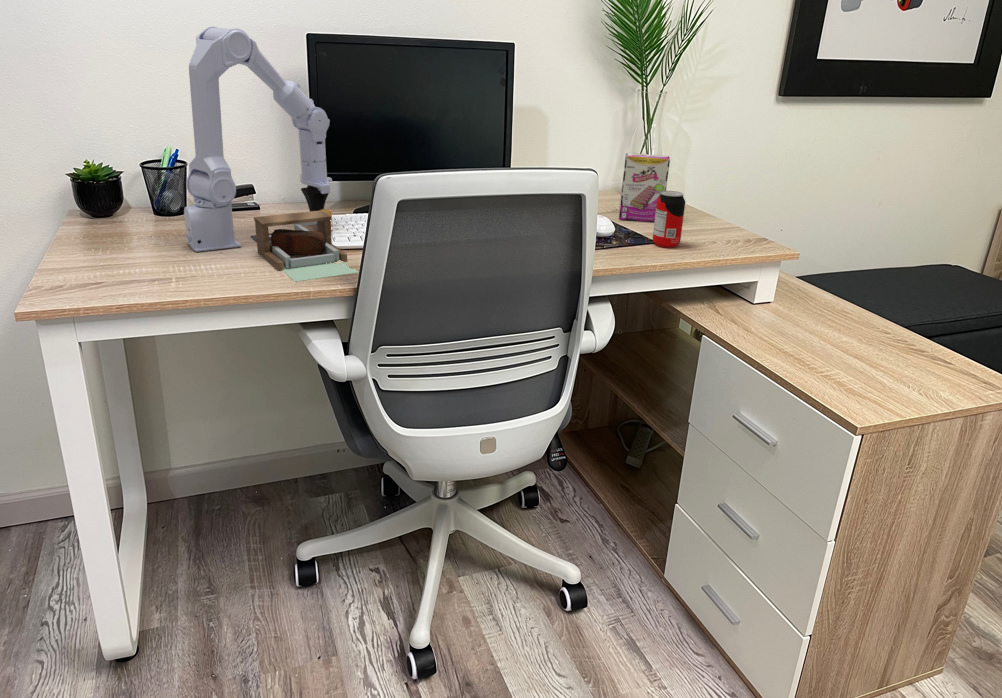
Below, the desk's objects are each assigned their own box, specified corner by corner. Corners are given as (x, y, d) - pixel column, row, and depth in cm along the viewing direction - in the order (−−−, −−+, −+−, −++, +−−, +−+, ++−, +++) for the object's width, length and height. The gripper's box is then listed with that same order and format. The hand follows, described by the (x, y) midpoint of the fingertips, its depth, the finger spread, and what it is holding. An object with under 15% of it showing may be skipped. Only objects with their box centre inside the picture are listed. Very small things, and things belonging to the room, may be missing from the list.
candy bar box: (618, 220, 200) (624, 155, 193) (618, 216, 204) (624, 152, 198) (662, 223, 199) (670, 158, 192) (661, 218, 203) (669, 154, 197)
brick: (271, 255, 160) (270, 233, 159) (276, 250, 164) (274, 228, 162) (323, 257, 161) (322, 235, 159) (327, 252, 165) (326, 230, 163)
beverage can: (682, 248, 177) (689, 196, 172) (655, 248, 177) (661, 195, 172) (675, 241, 183) (682, 190, 178) (649, 240, 183) (654, 189, 178)
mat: (295, 282, 147) (295, 281, 147) (278, 268, 155) (278, 267, 155) (359, 273, 154) (359, 272, 154) (340, 259, 161) (340, 258, 161)
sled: (286, 268, 154) (284, 245, 152) (250, 237, 173) (247, 216, 171) (373, 256, 163) (372, 234, 161) (329, 228, 182) (328, 208, 180)
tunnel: (278, 270, 153) (274, 233, 150) (257, 252, 164) (253, 217, 161) (347, 261, 160) (345, 225, 157) (322, 244, 171) (320, 210, 168)
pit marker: (258, 243, 170) (258, 242, 170) (250, 236, 174) (250, 235, 174) (294, 239, 174) (294, 238, 174) (285, 232, 178) (285, 231, 178)
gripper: (341, 164, 176) (344, 223, 182) (318, 154, 187) (322, 209, 193) (311, 166, 173) (315, 226, 178) (290, 155, 184) (294, 212, 189)
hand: (316, 218), depth 185 cm, fingers closed
